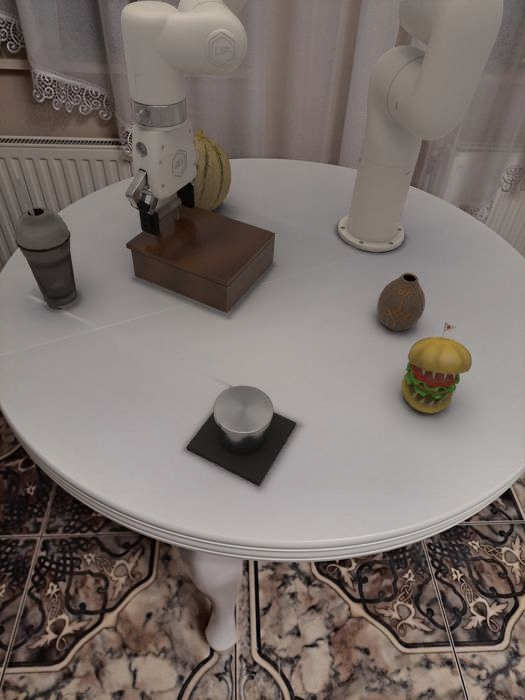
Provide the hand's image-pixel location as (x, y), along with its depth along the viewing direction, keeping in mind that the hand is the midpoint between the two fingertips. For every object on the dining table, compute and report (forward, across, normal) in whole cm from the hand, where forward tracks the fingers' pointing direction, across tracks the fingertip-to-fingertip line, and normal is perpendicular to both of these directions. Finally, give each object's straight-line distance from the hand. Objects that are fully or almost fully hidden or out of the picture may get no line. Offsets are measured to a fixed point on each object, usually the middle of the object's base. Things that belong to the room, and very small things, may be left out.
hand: (169, 218), depth 83 cm
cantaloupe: (+8, +16, +6) cm, 19 cm away
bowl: (+7, -26, -29) cm, 40 cm away
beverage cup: (+8, -18, +8) cm, 21 cm away
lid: (+2, 0, -6) cm, 7 cm away
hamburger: (+8, -8, -47) cm, 48 cm away
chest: (+8, 0, -7) cm, 10 cm away
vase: (+8, +5, -39) cm, 40 cm away
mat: (+8, -26, -29) cm, 40 cm away
